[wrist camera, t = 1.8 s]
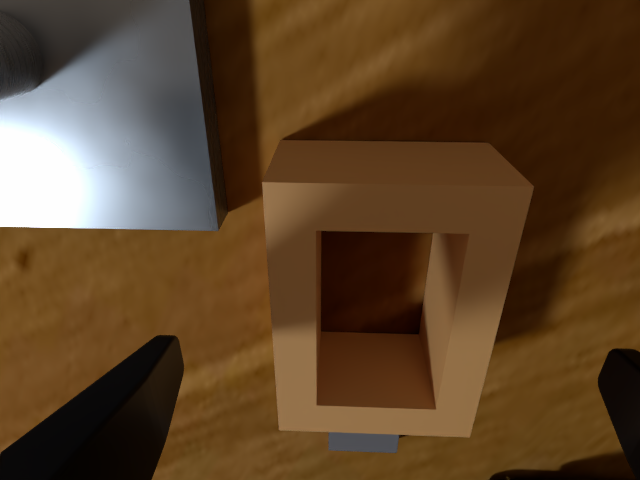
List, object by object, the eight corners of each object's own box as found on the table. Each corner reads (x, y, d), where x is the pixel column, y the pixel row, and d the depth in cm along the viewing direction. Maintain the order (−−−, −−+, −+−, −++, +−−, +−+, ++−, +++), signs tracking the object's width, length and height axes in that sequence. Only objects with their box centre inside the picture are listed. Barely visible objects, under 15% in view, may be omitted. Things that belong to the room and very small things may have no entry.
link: (446, 359, 14) (469, 437, 11) (289, 354, 14) (278, 430, 12) (488, 142, 10) (533, 186, 8) (280, 140, 11) (262, 182, 8)
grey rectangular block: (395, 440, 16) (396, 452, 15) (328, 437, 16) (328, 450, 15) (405, 358, 14) (407, 370, 13) (330, 356, 14) (329, 367, 13)
